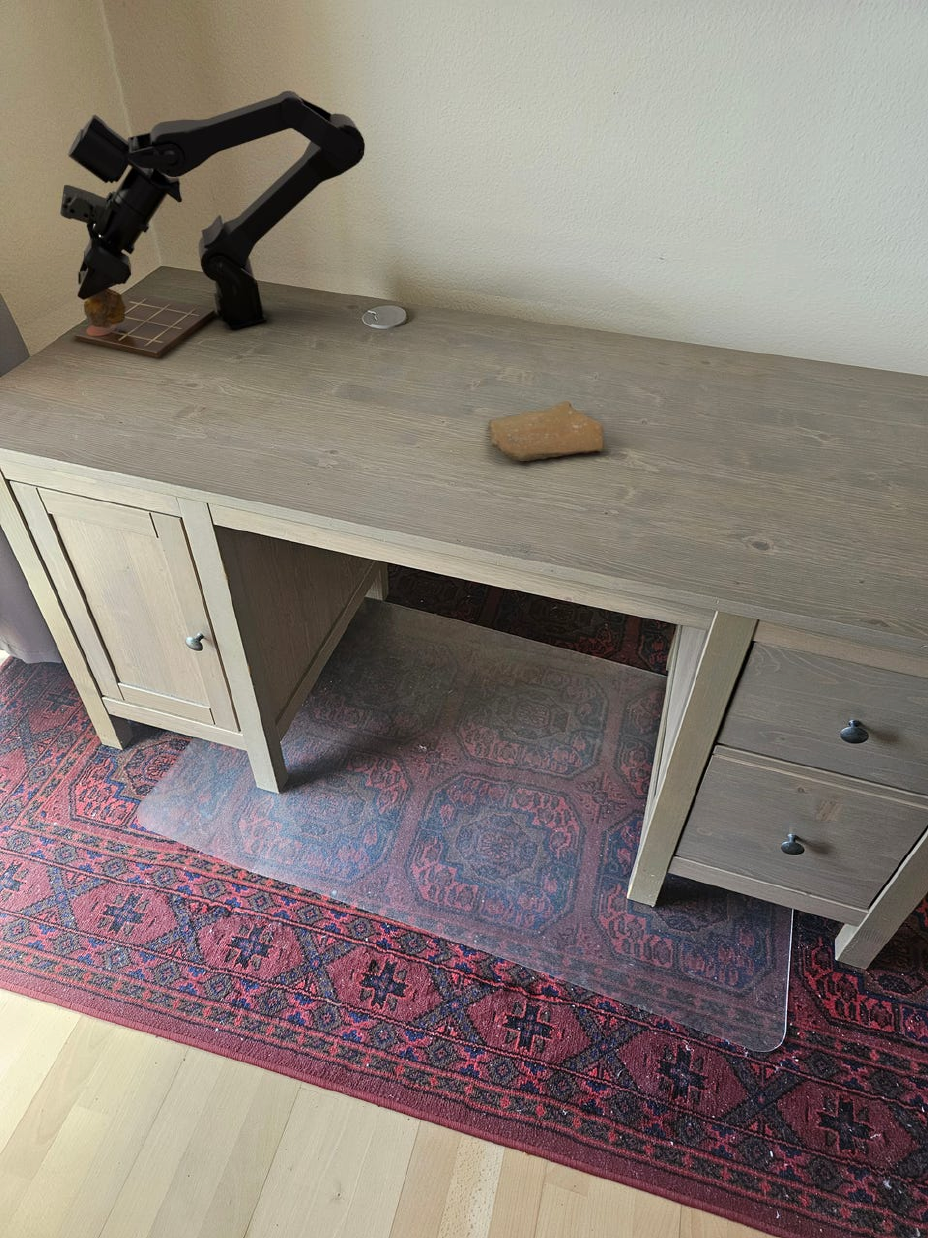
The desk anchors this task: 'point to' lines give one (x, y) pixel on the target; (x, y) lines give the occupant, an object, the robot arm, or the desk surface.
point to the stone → (546, 433)
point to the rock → (103, 307)
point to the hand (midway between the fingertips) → (81, 285)
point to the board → (148, 326)
